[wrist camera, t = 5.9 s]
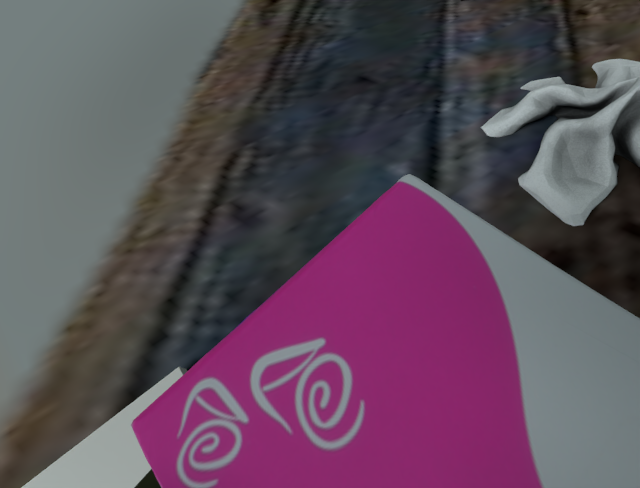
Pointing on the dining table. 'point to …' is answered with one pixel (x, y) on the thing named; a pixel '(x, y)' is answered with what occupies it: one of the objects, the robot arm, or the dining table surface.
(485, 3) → the dining table surface
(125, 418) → the mat
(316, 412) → the supplement box
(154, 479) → the robot arm
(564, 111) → the cloth
